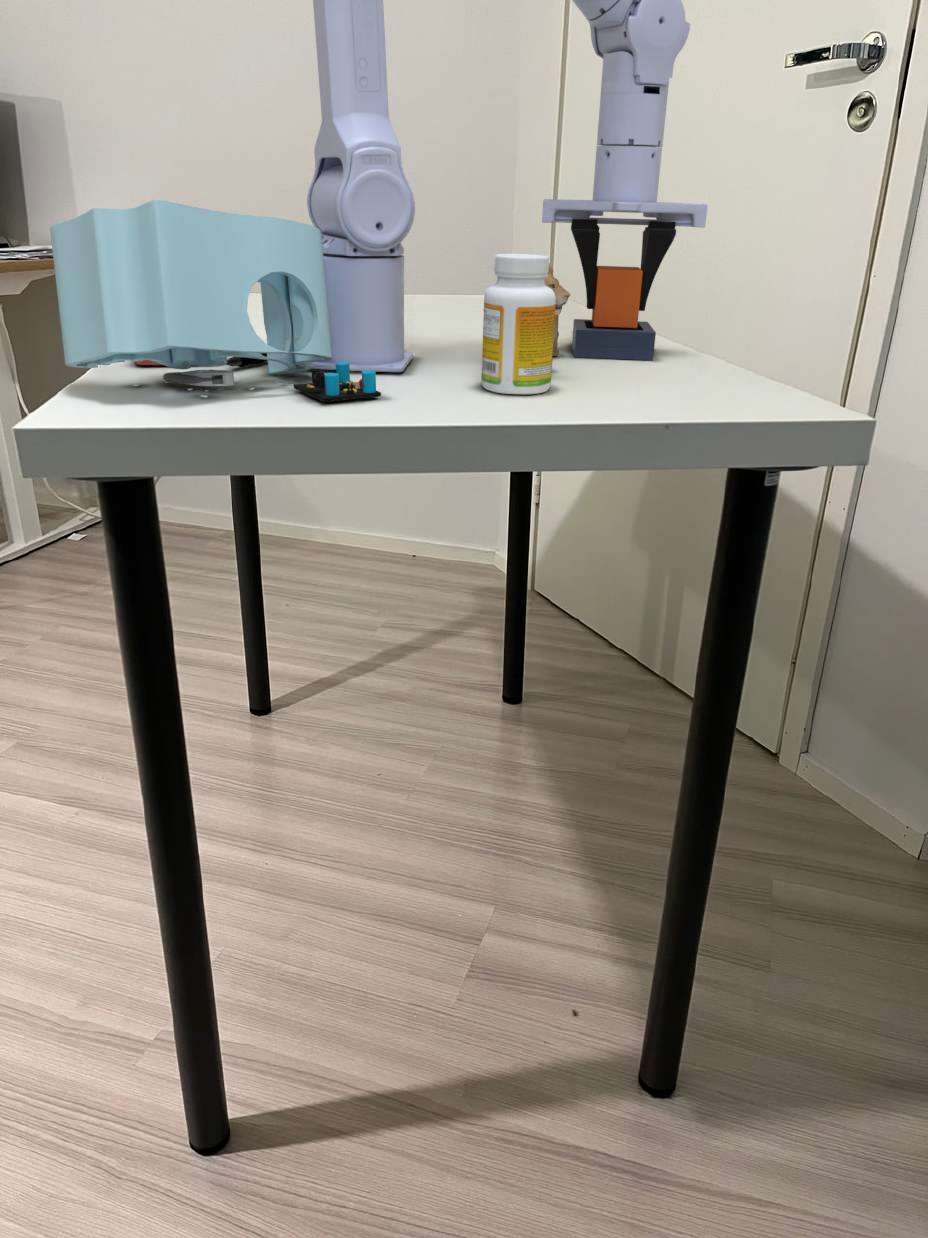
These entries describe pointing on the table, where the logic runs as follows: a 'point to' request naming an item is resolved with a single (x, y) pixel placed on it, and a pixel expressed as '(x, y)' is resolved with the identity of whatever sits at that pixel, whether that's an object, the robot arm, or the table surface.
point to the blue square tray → (613, 341)
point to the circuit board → (340, 385)
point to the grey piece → (201, 377)
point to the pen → (245, 361)
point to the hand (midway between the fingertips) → (614, 308)
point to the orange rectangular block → (617, 296)
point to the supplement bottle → (518, 326)
